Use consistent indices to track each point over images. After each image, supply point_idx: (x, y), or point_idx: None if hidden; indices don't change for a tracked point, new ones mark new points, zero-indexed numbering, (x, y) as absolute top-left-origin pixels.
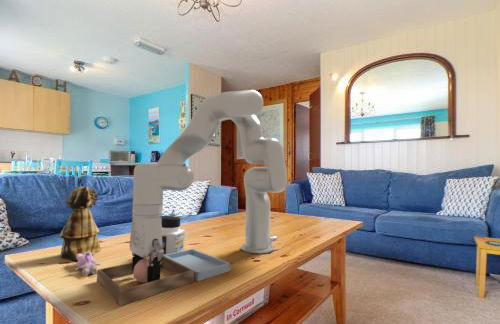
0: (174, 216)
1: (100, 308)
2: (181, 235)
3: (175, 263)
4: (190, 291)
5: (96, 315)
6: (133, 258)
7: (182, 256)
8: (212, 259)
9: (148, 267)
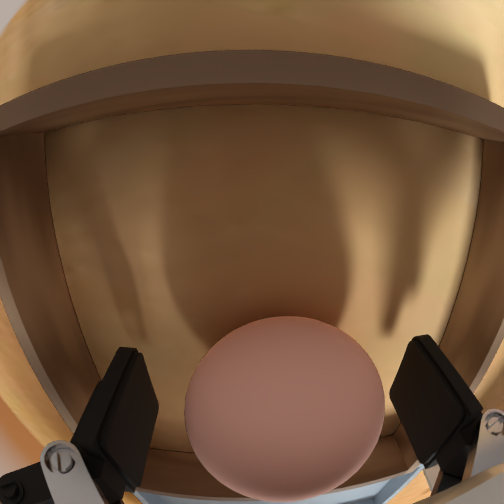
0: None
1: (74, 22)
2: None
3: None
4: None
5: (31, 16)
6: (465, 407)
7: (381, 484)
8: None
9: (80, 434)
